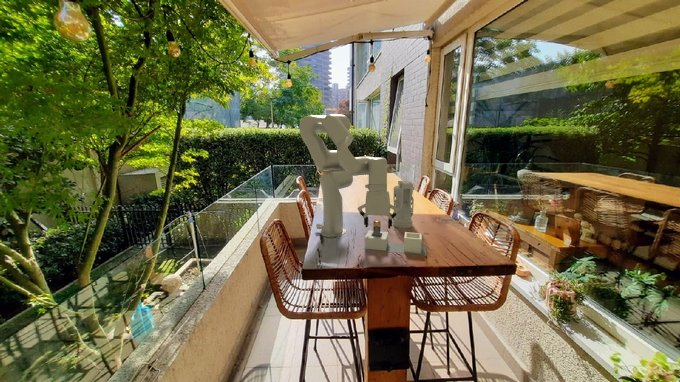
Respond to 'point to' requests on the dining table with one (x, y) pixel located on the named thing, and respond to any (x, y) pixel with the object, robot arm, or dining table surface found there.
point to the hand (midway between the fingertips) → (378, 227)
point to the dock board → (381, 243)
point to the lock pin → (376, 228)
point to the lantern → (403, 204)
